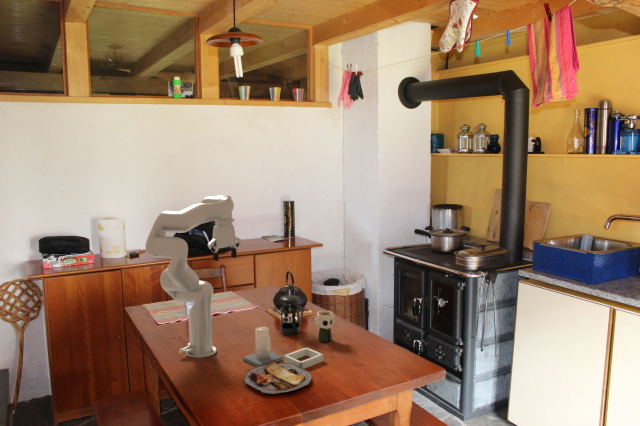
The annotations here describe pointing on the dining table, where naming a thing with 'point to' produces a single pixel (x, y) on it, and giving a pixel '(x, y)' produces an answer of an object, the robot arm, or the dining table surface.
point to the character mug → (325, 325)
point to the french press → (290, 321)
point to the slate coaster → (258, 362)
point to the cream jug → (262, 343)
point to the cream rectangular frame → (292, 357)
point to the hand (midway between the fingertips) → (225, 259)
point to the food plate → (277, 377)
